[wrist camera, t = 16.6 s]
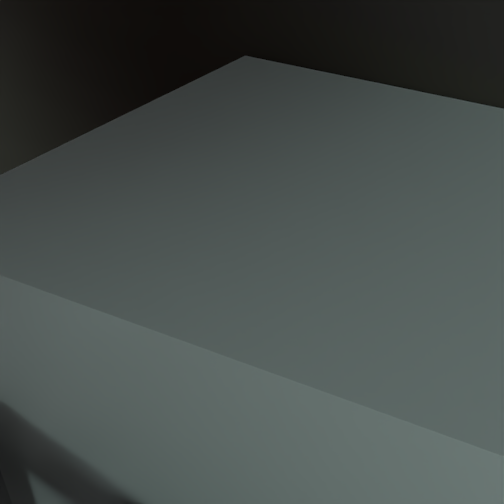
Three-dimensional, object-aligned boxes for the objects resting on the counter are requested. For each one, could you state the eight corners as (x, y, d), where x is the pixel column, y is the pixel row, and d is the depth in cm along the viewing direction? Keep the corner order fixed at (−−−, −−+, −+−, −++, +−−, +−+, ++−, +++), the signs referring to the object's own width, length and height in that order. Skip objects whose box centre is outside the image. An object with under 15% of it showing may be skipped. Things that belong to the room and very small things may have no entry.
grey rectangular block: (245, 55, 11) (-118, 233, 4) (555, 119, 9) (866, 586, 2) (222, 280, 15) (20, 570, 8) (439, 350, 13) (431, 784, 6)
